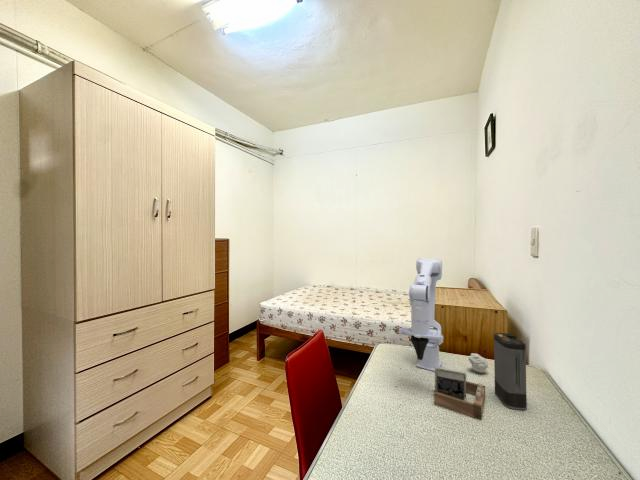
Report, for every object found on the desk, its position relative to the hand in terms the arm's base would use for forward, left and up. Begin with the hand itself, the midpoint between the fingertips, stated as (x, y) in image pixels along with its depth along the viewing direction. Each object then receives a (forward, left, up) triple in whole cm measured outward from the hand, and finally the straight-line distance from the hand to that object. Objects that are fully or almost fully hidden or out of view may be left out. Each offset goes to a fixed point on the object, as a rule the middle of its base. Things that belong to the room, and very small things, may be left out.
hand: (420, 358), depth 90 cm
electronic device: (-9, +25, -10) cm, 28 cm away
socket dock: (0, +12, -10) cm, 16 cm away
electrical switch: (-1, +10, -10) cm, 14 cm away
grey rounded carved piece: (-25, +15, -10) cm, 31 cm away
